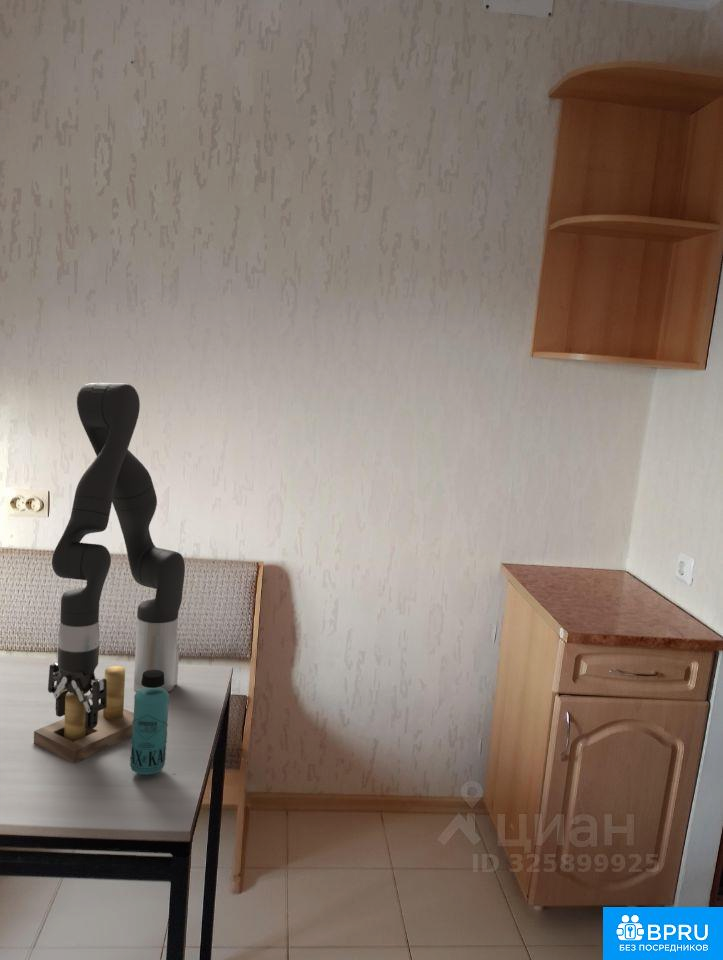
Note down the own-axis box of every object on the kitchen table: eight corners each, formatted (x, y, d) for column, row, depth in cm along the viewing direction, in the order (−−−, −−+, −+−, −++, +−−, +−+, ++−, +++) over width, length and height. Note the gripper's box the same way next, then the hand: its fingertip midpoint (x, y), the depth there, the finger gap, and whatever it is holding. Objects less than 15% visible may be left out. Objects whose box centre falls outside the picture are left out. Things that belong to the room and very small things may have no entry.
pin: (76, 736, 160) (77, 689, 158) (89, 742, 158) (91, 695, 156) (59, 743, 156) (61, 696, 155) (73, 750, 154) (74, 702, 153)
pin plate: (106, 712, 171) (108, 657, 169) (145, 729, 165) (148, 672, 163) (33, 742, 156) (35, 682, 154) (74, 763, 150) (76, 700, 148)
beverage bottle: (127, 766, 150) (132, 666, 147) (163, 763, 152) (168, 664, 149) (130, 784, 144) (135, 680, 141) (167, 780, 146) (173, 678, 143)
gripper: (119, 647, 153) (115, 726, 156) (70, 629, 161) (67, 704, 163) (88, 658, 147) (84, 739, 149) (38, 638, 154) (36, 717, 157)
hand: (75, 721), depth 156 cm, fingers open, 8 cm apart
